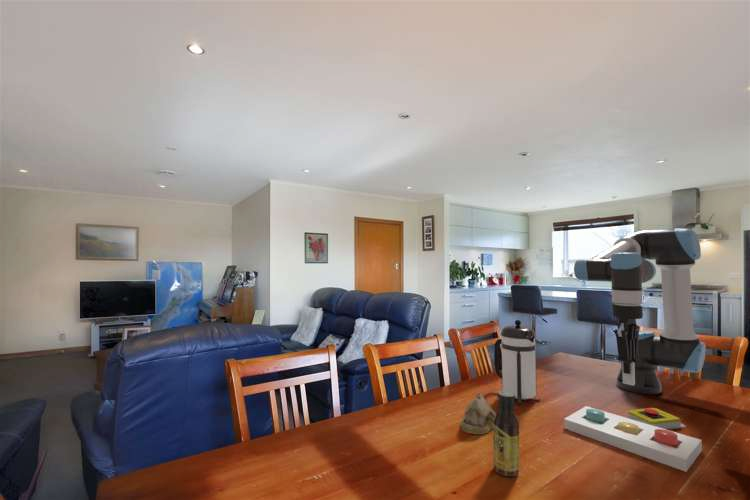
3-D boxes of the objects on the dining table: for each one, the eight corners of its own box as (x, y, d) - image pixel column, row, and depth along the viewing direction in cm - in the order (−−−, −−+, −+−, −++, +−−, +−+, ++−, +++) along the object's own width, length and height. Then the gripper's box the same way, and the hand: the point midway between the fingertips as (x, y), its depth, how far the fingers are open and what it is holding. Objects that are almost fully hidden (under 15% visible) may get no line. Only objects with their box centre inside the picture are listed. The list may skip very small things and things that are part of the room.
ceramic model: (468, 414, 127) (468, 385, 127) (501, 421, 121) (501, 390, 121) (454, 430, 115) (454, 398, 115) (490, 439, 109) (490, 405, 109)
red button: (657, 439, 105) (657, 427, 105) (680, 446, 101) (679, 433, 101) (652, 445, 102) (651, 432, 102) (674, 452, 98) (674, 439, 98)
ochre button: (622, 431, 112) (621, 420, 112) (641, 438, 108) (641, 426, 108) (615, 436, 109) (615, 424, 109) (635, 443, 105) (635, 431, 105)
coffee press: (540, 393, 145) (539, 317, 146) (540, 408, 131) (538, 324, 131) (495, 387, 152) (493, 315, 153) (490, 400, 138) (488, 321, 139)
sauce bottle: (489, 464, 95) (488, 388, 96) (512, 463, 96) (511, 387, 96) (500, 480, 89) (498, 397, 89) (524, 478, 89) (523, 396, 90)
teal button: (590, 418, 119) (590, 407, 119) (607, 423, 115) (607, 412, 115) (583, 422, 116) (583, 411, 116) (600, 428, 112) (600, 416, 112)
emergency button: (622, 407, 122) (659, 403, 125) (622, 420, 122) (659, 416, 125) (647, 418, 113) (687, 414, 116) (648, 433, 113) (687, 428, 116)
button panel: (586, 414, 125) (586, 406, 125) (701, 450, 101) (701, 440, 101) (564, 428, 115) (564, 418, 115) (686, 471, 91) (685, 459, 92)
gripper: (621, 301, 116) (622, 376, 115) (603, 304, 108) (605, 385, 107) (649, 303, 110) (651, 382, 109) (633, 307, 102) (635, 392, 101)
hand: (628, 383), depth 108 cm, fingers closed
